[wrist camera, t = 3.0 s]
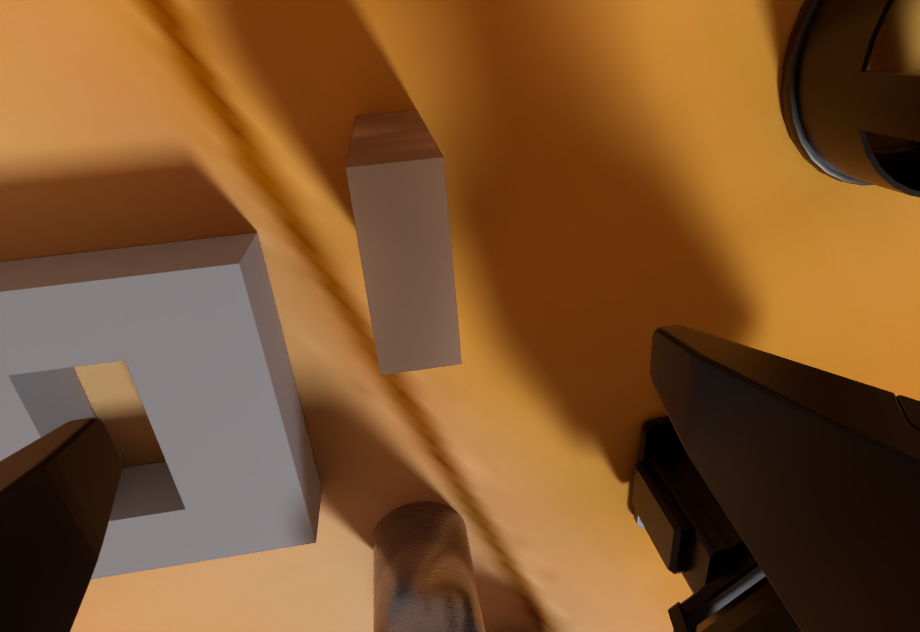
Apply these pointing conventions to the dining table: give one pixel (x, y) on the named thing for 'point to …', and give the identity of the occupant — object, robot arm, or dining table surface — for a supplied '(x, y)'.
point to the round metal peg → (424, 572)
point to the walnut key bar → (404, 241)
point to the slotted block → (168, 392)
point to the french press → (849, 97)
